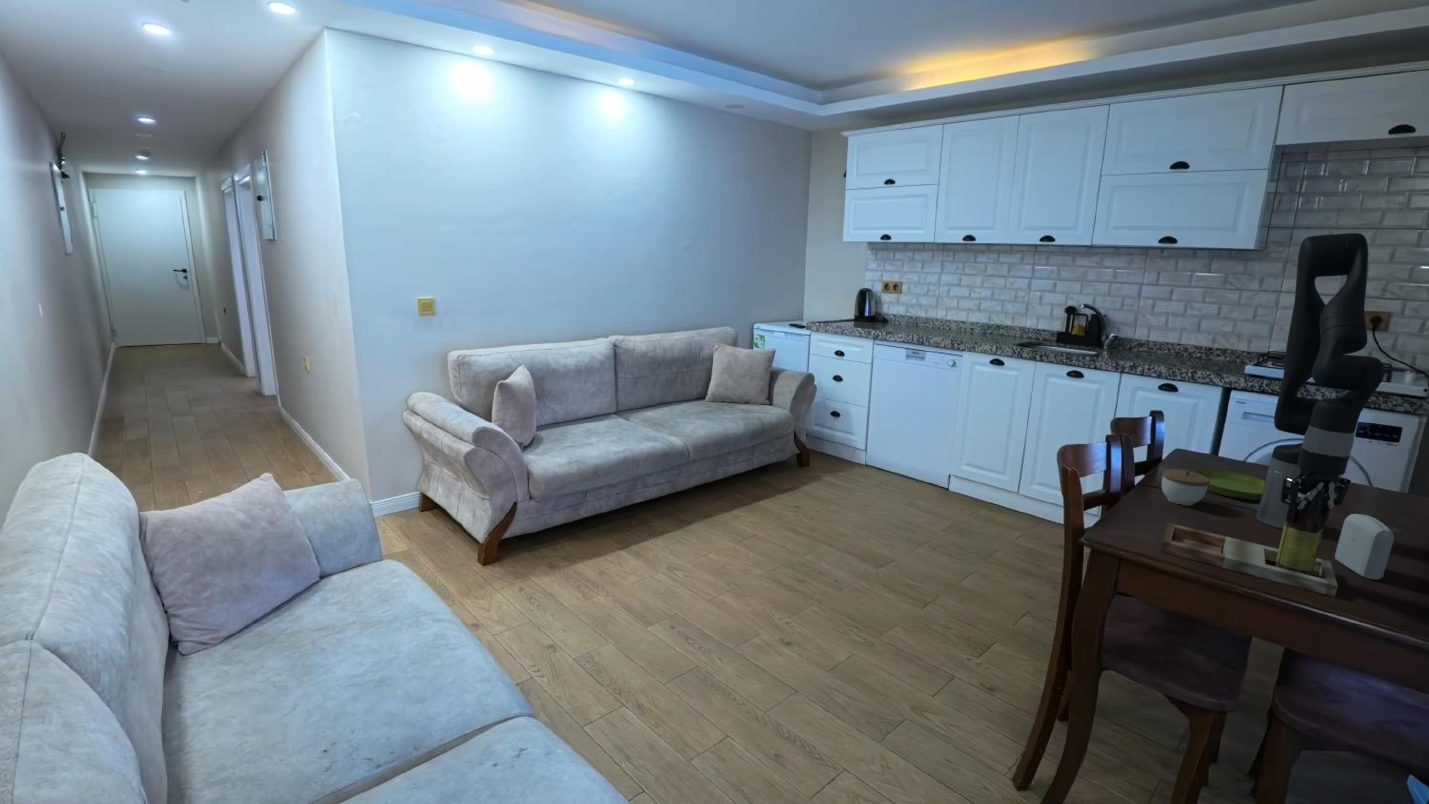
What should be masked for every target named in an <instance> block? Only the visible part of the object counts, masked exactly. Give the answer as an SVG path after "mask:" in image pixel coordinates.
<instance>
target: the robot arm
mask: <svg viewBox="0 0 1429 804" xmlns="http://www.w3.org/2000/svg"><path fill="white" fill-rule="evenodd" d="M1364 235H1365V234H1362V233H1360V232H1359V233H1358V232H1349V233H1347V232H1345V233H1336V234H1335V233H1333V234H1322V235H1319V234H1318V235H1312V236H1307V237H1306V238H1304V239H1303V241H1301V244H1300V245H1299V249H1298V255H1297V265H1296V279H1295V280H1296V281H1295V293H1294V304H1293V309H1292V315H1291V319H1290V325H1289V331H1288V334H1287V335H1288V336H1287V343H1286V350H1285V351H1286V352H1285V360H1284V361H1285V362H1284V369H1283V370H1284V371H1283V376H1282V382H1281V386H1280V389H1279V390H1280V391H1279V395H1278V399H1277V402H1276V407H1275V410H1274V416H1273V425H1274V428H1275V429H1276V430H1278V431H1280V432H1284V433H1288V434H1293V435H1298V436H1302V437H1303V436H1304V437H1303V441H1302V442H1299V443H1291V444H1286V443H1285V444H1279V445H1276V446H1275V447H1274V448H1273V451H1272V454H1271V458H1270V462H1269V466H1268V470H1267V475H1266V478H1265V480H1264V481H1265V485H1264V489H1263V493H1262V497H1261V500H1259V506H1258V509H1257V512H1256V516H1255V518H1256V519H1257V521H1259V522H1261V523H1262V524H1266V525H1268V526H1270V527H1274V528H1278V529H1282V530H1283V529H1284V524H1285V523H1286V521H1287V522H1288V523H1290V524H1292V525H1299V522H1300V518H1301V515H1302V511H1303V510H1302V508H1303V507H1304V505H1305V504H1306V503H1307V502H1308V501H1311V500H1312V499H1313V497H1314V496H1315V494H1316V493H1317V492H1318V491H1319V490H1321V489H1325V490H1326V491H1325V495H1324V496H1323V499H1322V503H1321V512H1322V517H1323V522H1324V525H1325V524H1327V521H1328V519H1329V515H1330V511H1331V509H1333V508H1335V506H1339V507H1340V506H1342V504H1343V502H1344V499H1345V498H1346V496H1347V493H1348V490H1349V488H1350V485H1351V483H1352V481H1351V479H1349V478H1346V477H1343V475H1345V473H1346V470H1347V468H1348V463H1349V459H1350V457H1351V456H1350V455H1351V453H1352V450H1353V446H1354V441H1355V432H1356V430H1357V429H1356V428H1357V426H1358V422H1359V419H1360V416H1361V414H1362V412H1363V409H1364V408H1365V406H1366V405H1367V404H1368V402H1369V400H1370V399H1371V397H1372V396H1373V395H1374V394H1375V392H1376V391H1377V389H1378V388H1379V387H1380V385H1381V383H1382V382H1383V380H1384V377H1385V374H1386V369H1385V365H1384V363H1383V362H1382V361H1381V360H1380V359H1379V358H1377V357H1376V356H1375V357H1374V356H1368V355H1356V354H1355V353H1357V352H1360V351H1362V350H1363V349H1364V348H1365V347H1366V346H1367V344H1368V341H1369V340H1368V331H1367V322H1366V316H1365V315H1366V313H1365V309H1366V308H1365V303H1366V302H1365V301H1366V293H1367V281H1368V267H1369V266H1368V265H1369V245H1368V241H1367V238H1366V236H1364ZM1342 276H1346V280H1345V282H1344V284H1343V286H1341V288H1340V289H1339V291H1337V292H1336V294H1335V295H1334V296H1333V297H1332V298H1331V299H1329V301H1328V302H1327V303H1325V302H1324V300H1323V298H1322V297H1321V295H1320V294H1319V291H1318V289H1317V286H1316V279H1317V278H1320V277H1322V278H1323V277H1342ZM1354 354H1355V355H1354ZM1311 378H1312V380H1313V381H1314V383H1315V384H1316V385H1318V386H1319V387H1321V388H1326V389H1327V388H1328V389H1338V390H1347V391H1348V392H1347V393H1345V394H1344V395H1343V396H1339V397H1333V398H1331V397H1330V398H1322V399H1321V398H1320V399H1319V400H1316V399H1310V398H1305V397H1304V398H1303V397H1299V396H1298V393H1299V391H1300V389H1301V388H1302V387H1303V386H1304V385H1305V384H1306V383H1307V382H1308V381H1309V380H1310V379H1311ZM1300 491H1302V492H1303V493H1305V494H1307V495H1303V494H1301V493H1300ZM1336 494H1337V496H1336ZM1299 498H1301V500H1300V501H1299V503H1298V502H1297V501H1298V499H1299Z"/></svg>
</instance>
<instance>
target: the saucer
mask: <svg viewBox="0 0 1429 804" xmlns="http://www.w3.org/2000/svg"><path fill="white" fill-rule="evenodd" d="M1190 472H1194V473H1198V474H1201V475H1203V476H1205V477H1207V478H1208V479H1209V480H1210V483H1209V485H1208V489H1207V492H1208V491H1209V492H1212V493H1214V494H1216V495H1220V496H1224V497H1228V496H1229V498H1233V497H1234V498H1235V499H1239V498H1240V499H1239V500H1246V499H1248V500H1250V501H1260V500H1261V497H1262V493H1263V489H1264V485H1265V481H1266V480H1264V479H1261V478H1258V477H1255V476H1251V475H1247V474H1243V473H1238V472H1235V471H1228V470H1222V469H1221V470H1220V469H1212V468H1211V469H1209V468H1199V469H1194V470H1190ZM1248 500H1247V501H1248Z"/></svg>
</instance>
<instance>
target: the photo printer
mask: <svg viewBox="0 0 1429 804" xmlns="http://www.w3.org/2000/svg"><path fill="white" fill-rule="evenodd" d="M1394 540H1395V535H1394V533H1393V531H1392V530H1391V528H1389V527H1388V526H1387V525H1386V524H1384V522H1382V521H1380V520H1379V519H1377V518H1375V517H1372V516H1370V515H1366V514H1359V513H1352V514H1349V515H1348V516H1347V517H1346V518H1345V519H1344V522H1343V525H1342V529H1341V532H1340V535H1339V538H1338V543H1337V547H1336V549H1335V555H1334V559H1335V560H1336V561H1338V562H1339V563H1341V564H1342V565H1343V566H1345V567H1347V568H1349V569H1350V570H1352V571H1353V572H1355V573H1356V574H1358V575H1360V576H1361V577H1364V578H1365V579H1369V580H1378V581H1379V580H1380V579H1382V578H1383V576H1384V575H1385V574H1384V573H1385V571H1386V567H1387V564H1388V560H1389V557H1390V554H1391V550H1392V548H1393V543H1394Z"/></svg>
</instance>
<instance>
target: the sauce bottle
mask: <svg viewBox="0 0 1429 804" xmlns="http://www.w3.org/2000/svg"><path fill="white" fill-rule="evenodd" d="M1325 491H1326V490H1325V489H1321V490H1319V491H1318V492H1317V493H1316V494H1315V496H1314V497H1313V499H1312V500H1311V501H1308V502H1307V503H1306V504H1305V505H1304V507H1303V508H1302V510H1303V511H1302V515H1301V518H1300V522H1299V525H1292V524H1290V523H1288V522H1287V521H1286V523H1285V524H1284V529H1282V534H1281V538H1280V543H1279V547H1278V549H1279V550H1278V555H1277V559H1276V561H1277V562H1275V567H1278V568H1282V569H1286V570H1290V571H1294V572H1298V573H1302V574H1306V575H1310V576H1312V573H1313V572H1314V571H1313V569H1314V566H1315V562H1316V558H1318V553H1319V550H1320V544H1321V541H1322V537H1323V534H1324V533H1323V532H1324V527H1325V524H1324V522H1323V517H1322V512H1321V503H1322V499H1323V496H1324V495H1325ZM1300 493H1301V494H1303V495H1307V494H1305V493H1303V492H1302V491H1300ZM1300 500H1301V498H1299V499H1298V501H1297V502H1298V503H1299V501H1300Z"/></svg>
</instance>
